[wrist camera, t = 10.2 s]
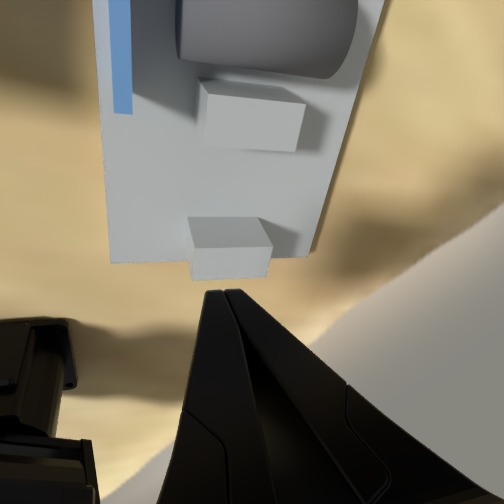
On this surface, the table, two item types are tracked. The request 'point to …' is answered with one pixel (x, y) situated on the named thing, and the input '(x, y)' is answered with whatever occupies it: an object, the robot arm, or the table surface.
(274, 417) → the robot arm
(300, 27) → the dark gray cylinder
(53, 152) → the table surface
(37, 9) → the table surface
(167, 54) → the white base plate
